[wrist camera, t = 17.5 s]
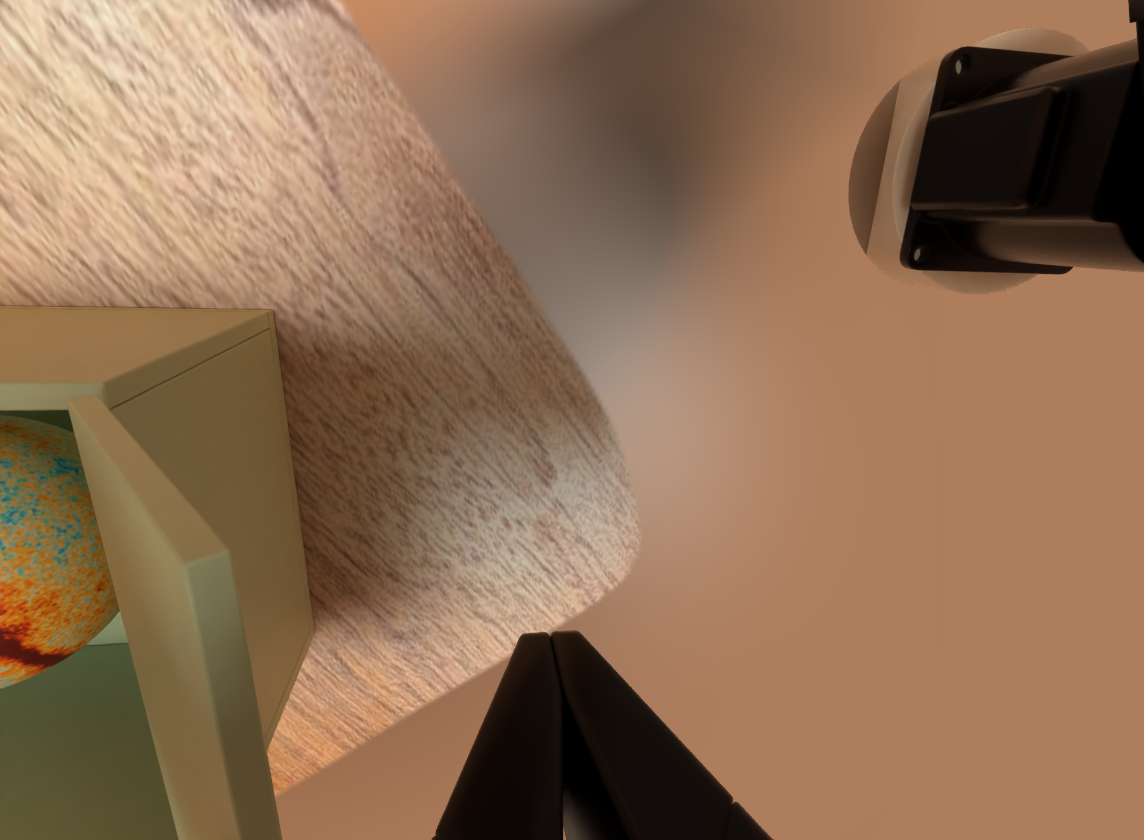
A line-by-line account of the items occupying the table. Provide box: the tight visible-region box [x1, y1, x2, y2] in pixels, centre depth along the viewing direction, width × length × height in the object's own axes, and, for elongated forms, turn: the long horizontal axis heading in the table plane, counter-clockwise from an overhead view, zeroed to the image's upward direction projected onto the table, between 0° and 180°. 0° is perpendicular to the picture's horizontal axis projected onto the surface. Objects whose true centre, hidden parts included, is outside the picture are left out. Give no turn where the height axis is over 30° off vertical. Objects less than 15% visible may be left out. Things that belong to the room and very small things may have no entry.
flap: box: [67, 396, 282, 840], centre depth 9 cm, size 6×12×1 cm
